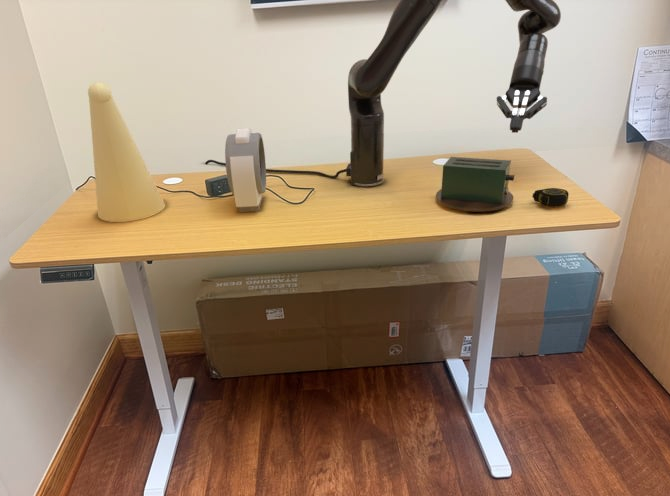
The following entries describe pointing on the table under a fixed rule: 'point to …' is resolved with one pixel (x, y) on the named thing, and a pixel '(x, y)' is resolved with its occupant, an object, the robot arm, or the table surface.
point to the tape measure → (551, 197)
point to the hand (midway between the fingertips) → (514, 130)
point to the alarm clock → (246, 168)
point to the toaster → (475, 184)
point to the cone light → (118, 164)
